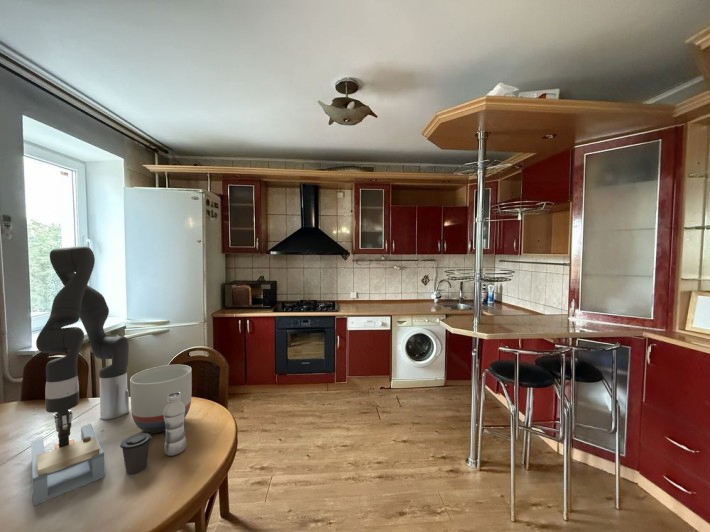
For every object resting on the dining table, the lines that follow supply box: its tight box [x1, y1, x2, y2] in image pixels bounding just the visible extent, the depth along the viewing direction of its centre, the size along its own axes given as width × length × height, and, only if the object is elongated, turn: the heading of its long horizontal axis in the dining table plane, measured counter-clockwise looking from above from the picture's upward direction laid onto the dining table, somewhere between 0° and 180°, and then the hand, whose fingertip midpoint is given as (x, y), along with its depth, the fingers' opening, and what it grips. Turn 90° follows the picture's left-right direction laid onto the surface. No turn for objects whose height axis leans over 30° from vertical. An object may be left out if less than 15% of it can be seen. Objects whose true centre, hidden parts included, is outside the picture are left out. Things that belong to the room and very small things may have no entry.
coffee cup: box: [119, 432, 152, 476], centre depth 97 cm, size 8×8×10 cm
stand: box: [30, 423, 106, 506], centre depth 97 cm, size 15×27×7 cm, turn 47°
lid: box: [37, 436, 99, 476], centre depth 92 cm, size 13×10×3 cm
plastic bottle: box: [163, 392, 187, 457], centre depth 105 cm, size 6×7×20 cm
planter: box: [129, 364, 193, 434], centre depth 120 cm, size 20×20×21 cm
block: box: [54, 438, 76, 450], centre depth 100 cm, size 4×4×5 cm
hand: (64, 447), depth 95 cm, fingers closed
